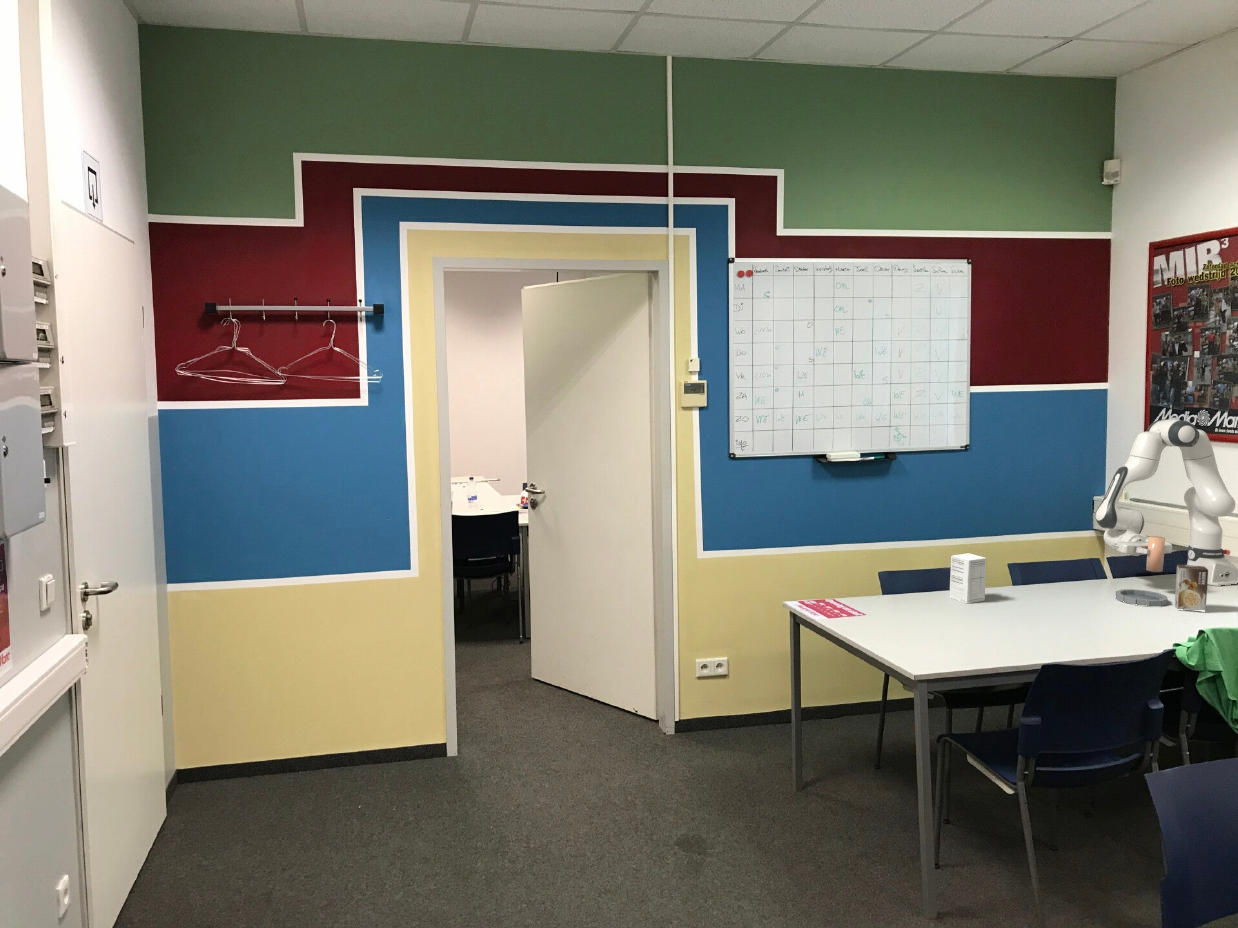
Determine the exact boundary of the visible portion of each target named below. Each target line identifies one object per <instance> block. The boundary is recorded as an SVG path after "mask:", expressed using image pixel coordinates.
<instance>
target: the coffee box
mask: <svg viewBox="0 0 1238 928" xmlns="http://www.w3.org/2000/svg"><path fill="white" fill-rule="evenodd" d="M1175 575H1176V577H1175V579H1176V580H1175V589H1174V590H1175V595H1174V605H1175V606H1174V607H1175V609H1176V608H1177V609H1183V610H1207V597H1208V596H1207V595H1208V584H1207V583H1208V569H1207V568H1205V567H1204V566H1192V565H1187V564H1176V574H1175ZM1177 609H1176V610H1177Z"/></svg>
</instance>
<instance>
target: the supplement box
mask: <svg viewBox="0 0 1238 928" xmlns="http://www.w3.org/2000/svg"><path fill="white" fill-rule="evenodd" d="M987 560H988V559H987V557H984V556H980V555H976V554H973V553H970V552H969V553H963V554H962V553H961V554H954V555H951V556H950V574H949V575H950V577H949V599H951V600H954V601H958V602H960V603H965V604H973V603H980V602H984V601H986V600H985V597H986V584H987V583H986V581H987V580H986V578H987Z"/></svg>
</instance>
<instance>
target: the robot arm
mask: <svg viewBox="0 0 1238 928" xmlns="http://www.w3.org/2000/svg"><path fill="white" fill-rule="evenodd" d="M1166 447H1178V448H1179V449H1180V452H1181V456H1182V462H1183V465H1184V469H1185V473H1186V477H1187V479H1188V480H1189V481H1190V483H1191V485H1192V486H1191V487H1189V488H1187V489H1186V491H1185V492H1184V494H1183V500H1184V504H1186V507H1187V512H1188V518H1189V522H1190V536H1189V537H1190V538H1189V545H1188V547H1187V563H1186V565H1192V566H1204V567H1205V568H1207V569H1208V583H1207V585H1210V586H1215V587H1216V586H1217V587H1221V585H1225V586H1232V585H1231V584H1235V583H1238V567H1237V566H1236V565H1234V563H1232V562H1231V561H1229V560H1228V559H1227V558H1226V557H1225V555H1226V556H1230V554H1231V552H1232V551H1231V550H1229V549H1223V548H1222V543H1223V527H1222V526H1221V523H1220V520H1219V518H1220V517H1221V518H1222V517H1227V516H1229V515H1231V514H1232V513H1233V512H1234V511H1235V509H1236V501H1235V499H1234V497H1233V496H1232V495H1231V494H1230V492H1229V490H1228V489H1227V487H1226V485H1225V482H1224V481H1223V480H1224V479H1223V478H1222V476H1221V474H1220V471H1219V469H1218V464H1217V461H1216V457H1215V452H1214V449H1213V446H1212V443H1211V440H1210V438H1209V437H1208V434H1207V432H1205V431H1204V430H1202V429H1197V428H1196V426H1195V425H1194V423H1191V422H1189V421H1187V420H1181V419H1174V418H1171V419H1159V420H1155V421H1153V422H1152V423H1151V424H1150V425H1149V426H1148V427H1147V430H1145V431H1142V432H1140V433H1138V435H1136V437H1135V439H1134V442H1133V444H1132V446H1131V449H1130V452H1129V456H1128V459H1127V460H1126V462H1125V463H1124V465H1122V466H1120V467H1119V468H1118V469H1117V470H1116V472H1115V473H1114V475H1113V477H1112V479H1111V482H1110V483H1109V486H1108V488H1107V490H1106V493H1105V495H1104V497H1103V499H1102V501H1101V503H1100V505H1099V506H1098V507H1097V509H1096V511H1095V514H1094V519H1095V520H1096V522H1097V524H1098V525H1099V527H1101V528H1102V529H1106V530H1105V531H1104V534H1103V541H1104V542H1105V544H1106V545H1107V546H1108V547H1110V548H1112V549H1114V550H1116V551H1117V552H1119V553H1122V554H1126V555H1131V556H1135V557H1139V556H1142V555H1147V554H1150V549H1148V538H1149V536H1150V535H1144V534H1141V533H1142V531H1143V529H1144V526H1145V518H1144V515H1143V514H1142V512H1141V511H1140V510H1139V509H1135V508H1131V507H1125V506H1119V505H1118V503H1119V501H1120V499H1121V496H1122V494H1123V491H1124V490H1125V488H1126V486H1128V485H1129V484H1131V483H1134V482H1140V481H1145V480H1148V479H1150V478H1152V477H1153V476H1154V475H1155V474H1156V472H1157V470H1158V468H1159V464H1160V460H1161V456H1162V453H1163V451H1164V449H1165V448H1166ZM1172 552H1173V544H1172V543H1171V542H1168V541H1166V540H1165V547H1164V555H1165V554H1172Z"/></svg>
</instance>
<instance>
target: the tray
mask: <svg viewBox="0 0 1238 928" xmlns="http://www.w3.org/2000/svg"><path fill="white" fill-rule="evenodd" d="M1115 596H1116V597H1115V600H1116V599H1117V600H1116V601H1119V600H1120V601H1119V602H1121V601H1124V602H1127V603H1126V604H1128V603H1132V604H1137V605H1136V606H1138V605H1147V606H1146V607H1148V606H1161V607H1164V606H1163V605H1165V606H1168V602H1169V601H1168V600H1169V599H1168V597H1167V595H1164V594H1162V593H1159V592H1156V591H1155V592H1154V591H1150V590H1145V589H1136V588H1135V589H1132V588H1128V589H1127V588H1125V589H1122V588H1121V589H1118V590H1115ZM1124 602H1123V603H1124ZM1132 604H1131V605H1132Z"/></svg>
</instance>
